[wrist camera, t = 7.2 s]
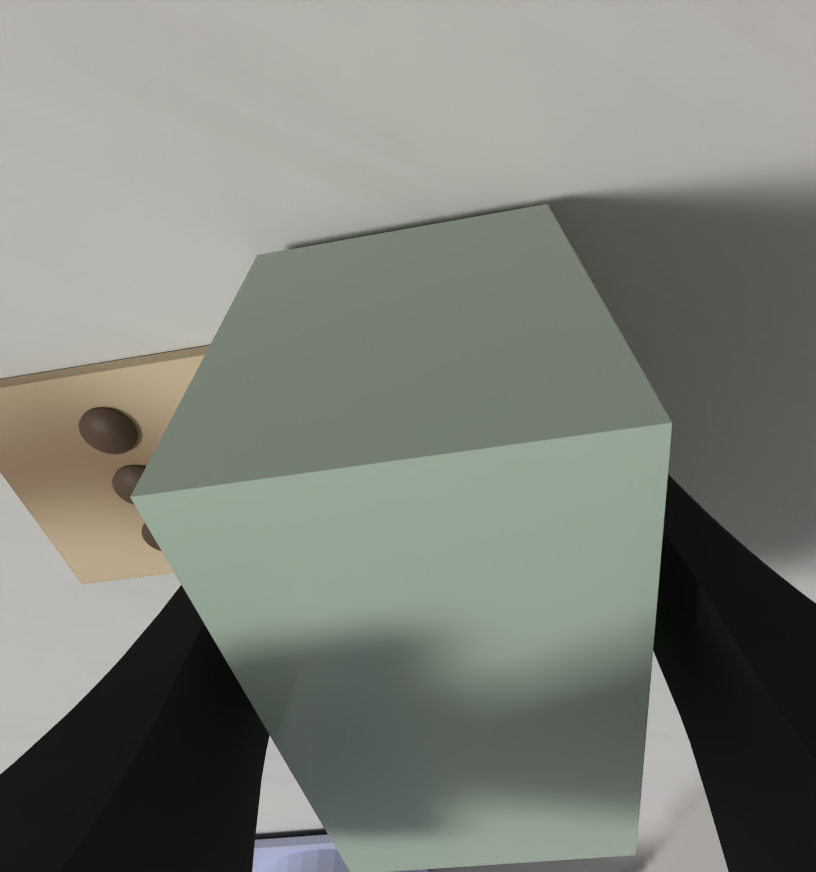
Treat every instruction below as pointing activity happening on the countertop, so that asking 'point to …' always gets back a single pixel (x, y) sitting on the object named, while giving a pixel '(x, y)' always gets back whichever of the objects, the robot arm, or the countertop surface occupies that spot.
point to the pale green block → (430, 538)
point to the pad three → (92, 455)
